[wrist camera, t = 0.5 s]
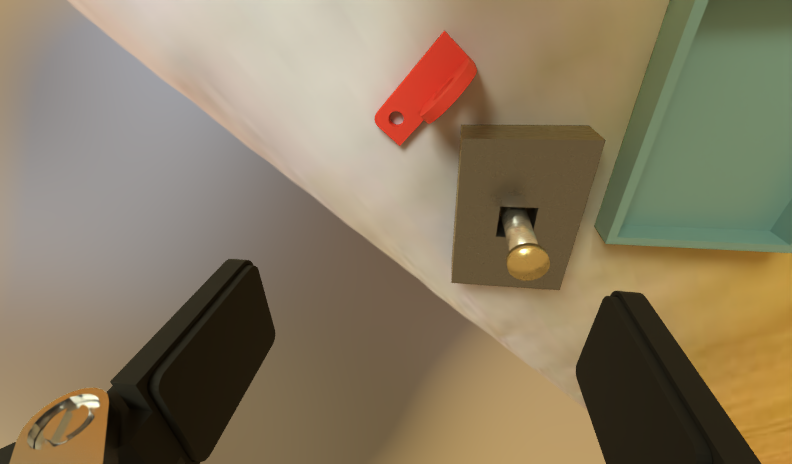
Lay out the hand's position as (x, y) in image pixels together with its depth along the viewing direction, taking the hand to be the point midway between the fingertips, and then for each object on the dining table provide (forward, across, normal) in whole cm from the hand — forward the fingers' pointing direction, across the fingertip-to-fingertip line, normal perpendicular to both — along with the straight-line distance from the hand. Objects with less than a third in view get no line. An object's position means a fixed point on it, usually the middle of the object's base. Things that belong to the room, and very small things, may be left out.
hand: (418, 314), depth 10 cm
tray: (+34, -30, +3) cm, 46 cm away
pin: (+35, -9, +13) cm, 38 cm away
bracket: (+35, +3, 0) cm, 35 cm away
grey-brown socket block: (+35, -9, +13) cm, 38 cm away
